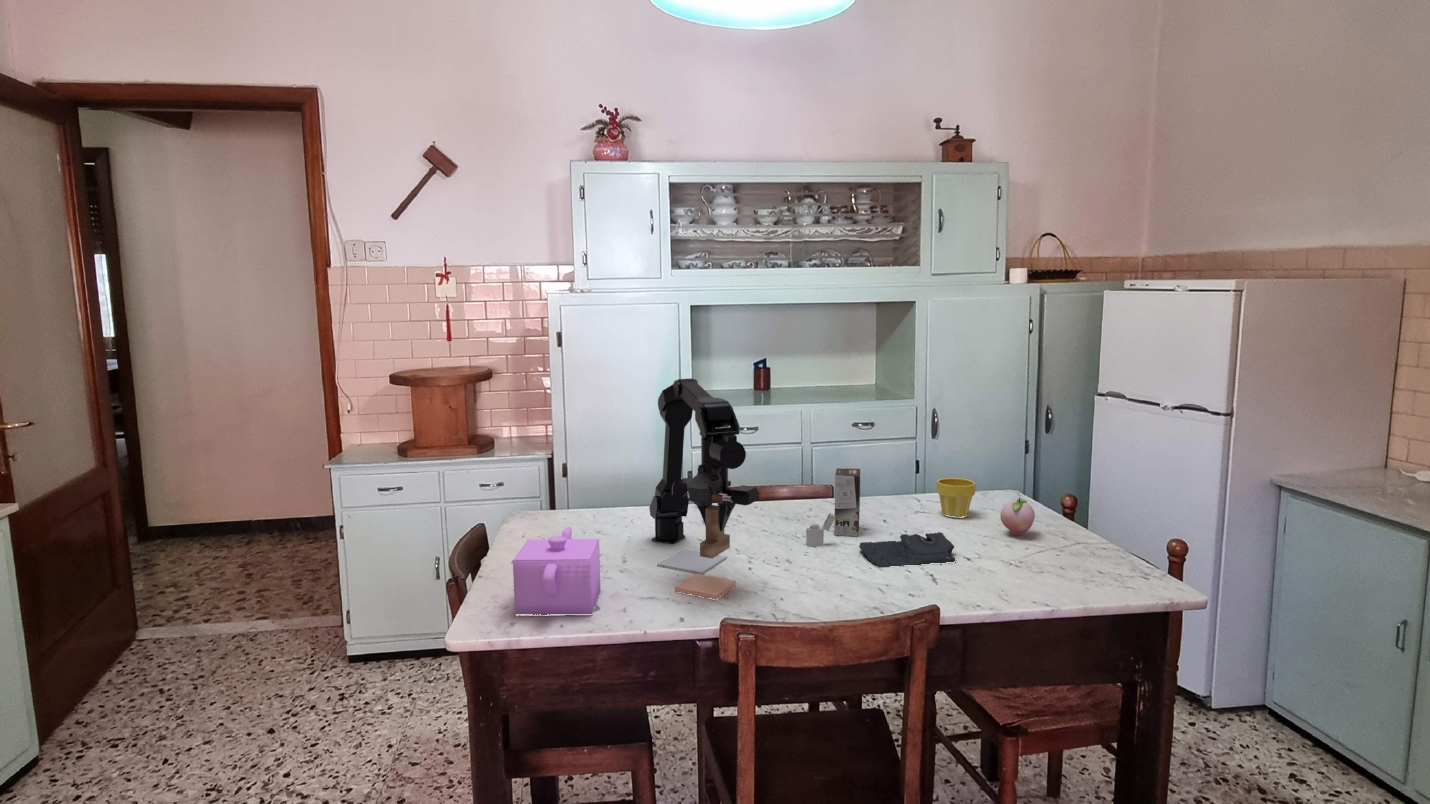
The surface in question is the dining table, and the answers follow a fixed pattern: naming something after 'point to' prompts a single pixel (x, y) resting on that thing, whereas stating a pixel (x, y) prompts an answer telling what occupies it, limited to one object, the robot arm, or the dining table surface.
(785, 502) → the dining table surface
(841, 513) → the coffee box
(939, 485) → the plant pot
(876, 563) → the dark grey folded shirt
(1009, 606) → the dining table surface
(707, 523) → the brown stepped wooden block
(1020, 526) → the decorative fruit
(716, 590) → the tile
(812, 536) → the lighter
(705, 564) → the mat
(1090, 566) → the dining table surface
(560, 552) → the teapot
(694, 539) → the dining table surface
